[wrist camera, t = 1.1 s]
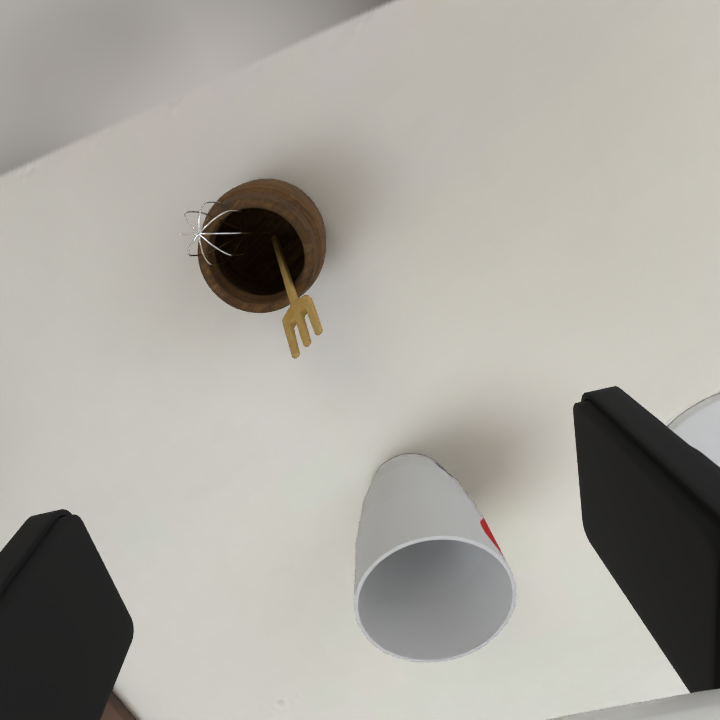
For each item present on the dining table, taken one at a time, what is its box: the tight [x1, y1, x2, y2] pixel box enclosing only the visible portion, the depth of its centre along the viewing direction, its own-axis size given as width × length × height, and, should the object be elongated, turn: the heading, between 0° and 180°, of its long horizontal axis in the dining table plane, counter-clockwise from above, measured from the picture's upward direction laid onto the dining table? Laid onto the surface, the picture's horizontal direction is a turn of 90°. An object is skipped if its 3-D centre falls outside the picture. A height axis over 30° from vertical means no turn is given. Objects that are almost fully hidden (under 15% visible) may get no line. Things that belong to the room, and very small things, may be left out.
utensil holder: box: [178, 179, 326, 358], centre depth 24 cm, size 6×6×12 cm
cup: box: [354, 454, 517, 663], centre depth 32 cm, size 8×8×10 cm
